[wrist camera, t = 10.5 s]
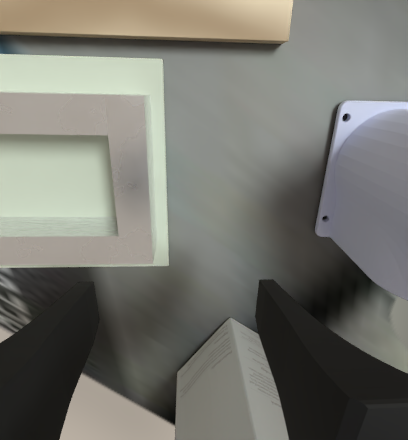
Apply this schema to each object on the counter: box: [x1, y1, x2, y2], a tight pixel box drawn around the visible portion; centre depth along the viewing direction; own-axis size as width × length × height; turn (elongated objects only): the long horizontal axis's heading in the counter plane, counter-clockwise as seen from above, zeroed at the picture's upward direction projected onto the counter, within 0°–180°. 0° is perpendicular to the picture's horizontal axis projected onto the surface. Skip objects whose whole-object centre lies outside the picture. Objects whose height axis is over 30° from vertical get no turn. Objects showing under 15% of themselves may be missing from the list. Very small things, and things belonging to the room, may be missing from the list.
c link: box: [0, 91, 157, 265], centre depth 18 cm, size 10×12×3 cm
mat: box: [0, 54, 169, 268], centre depth 20 cm, size 14×14×1 cm
